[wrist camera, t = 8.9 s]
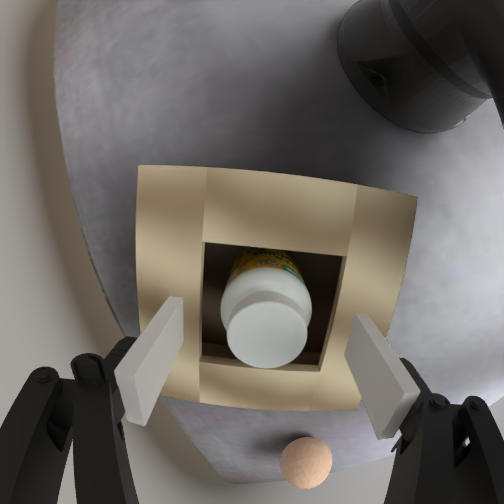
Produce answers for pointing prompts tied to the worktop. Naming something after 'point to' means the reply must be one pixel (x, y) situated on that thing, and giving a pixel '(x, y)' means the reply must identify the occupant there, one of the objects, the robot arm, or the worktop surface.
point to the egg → (306, 462)
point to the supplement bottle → (266, 308)
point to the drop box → (275, 237)
